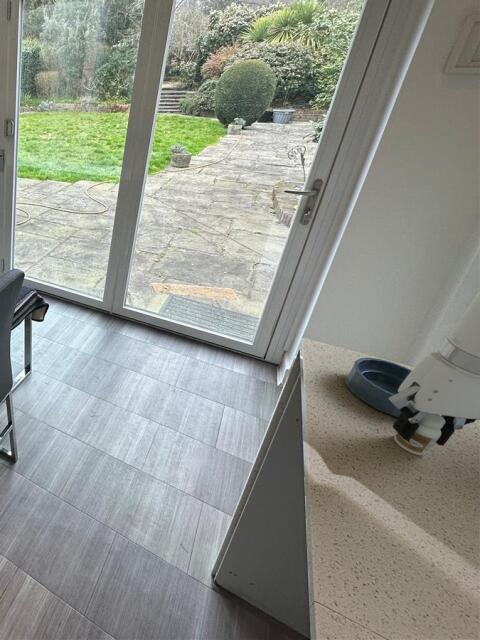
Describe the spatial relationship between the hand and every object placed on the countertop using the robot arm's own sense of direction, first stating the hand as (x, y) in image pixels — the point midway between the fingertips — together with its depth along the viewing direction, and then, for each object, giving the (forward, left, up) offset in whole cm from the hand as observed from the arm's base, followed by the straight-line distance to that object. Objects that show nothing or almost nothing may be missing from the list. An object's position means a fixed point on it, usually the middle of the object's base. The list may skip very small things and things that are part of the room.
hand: (417, 435), depth 74 cm
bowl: (-4, -13, -3) cm, 14 cm away
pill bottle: (0, 0, -3) cm, 3 cm away
